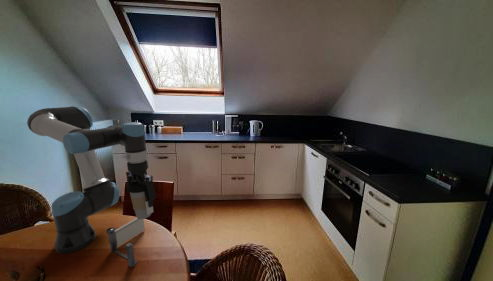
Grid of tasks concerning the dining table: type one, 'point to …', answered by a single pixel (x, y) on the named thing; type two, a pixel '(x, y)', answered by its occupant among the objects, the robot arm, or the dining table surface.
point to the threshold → (123, 255)
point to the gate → (128, 231)
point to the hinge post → (112, 239)
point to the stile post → (130, 255)
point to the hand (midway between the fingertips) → (143, 210)
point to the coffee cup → (138, 199)
